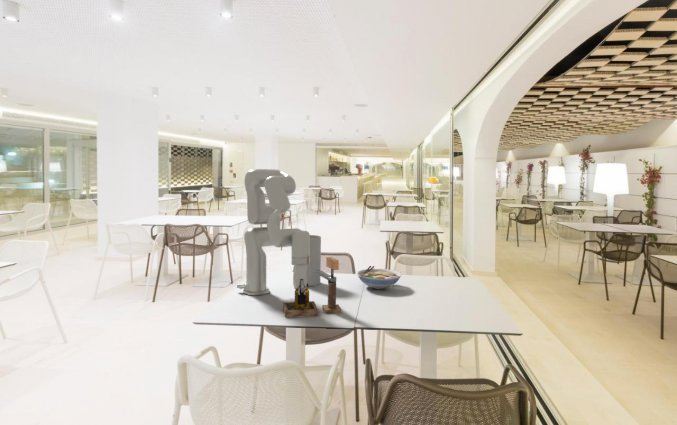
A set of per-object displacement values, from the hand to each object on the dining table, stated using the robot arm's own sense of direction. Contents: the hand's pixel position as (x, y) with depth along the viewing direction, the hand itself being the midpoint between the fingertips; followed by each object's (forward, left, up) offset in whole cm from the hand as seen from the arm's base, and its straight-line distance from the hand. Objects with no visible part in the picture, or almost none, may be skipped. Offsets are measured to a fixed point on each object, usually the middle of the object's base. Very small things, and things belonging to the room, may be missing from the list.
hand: (300, 300), depth 181 cm
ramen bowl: (+44, +34, -5) cm, 56 cm away
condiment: (0, 0, -5) cm, 5 cm away
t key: (+12, +7, +8) cm, 16 cm away
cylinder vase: (+9, +46, -5) cm, 47 cm away
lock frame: (+6, 0, -5) cm, 8 cm away
